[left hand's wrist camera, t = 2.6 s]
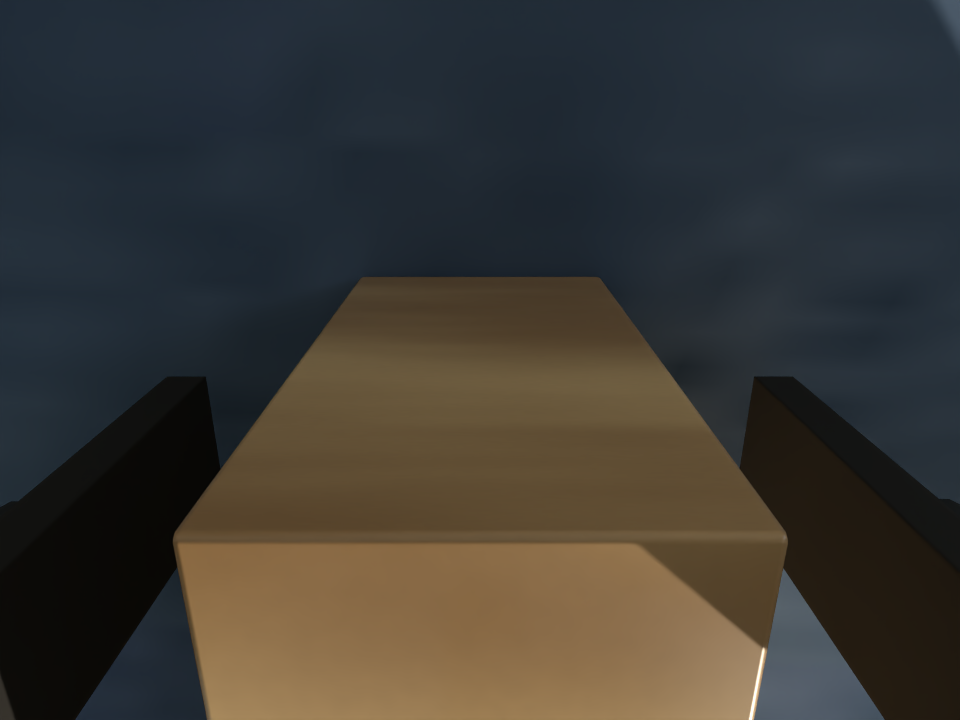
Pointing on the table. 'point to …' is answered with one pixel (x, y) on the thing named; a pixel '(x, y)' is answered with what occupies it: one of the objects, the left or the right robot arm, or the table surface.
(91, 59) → the table surface
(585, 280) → the maple bar
